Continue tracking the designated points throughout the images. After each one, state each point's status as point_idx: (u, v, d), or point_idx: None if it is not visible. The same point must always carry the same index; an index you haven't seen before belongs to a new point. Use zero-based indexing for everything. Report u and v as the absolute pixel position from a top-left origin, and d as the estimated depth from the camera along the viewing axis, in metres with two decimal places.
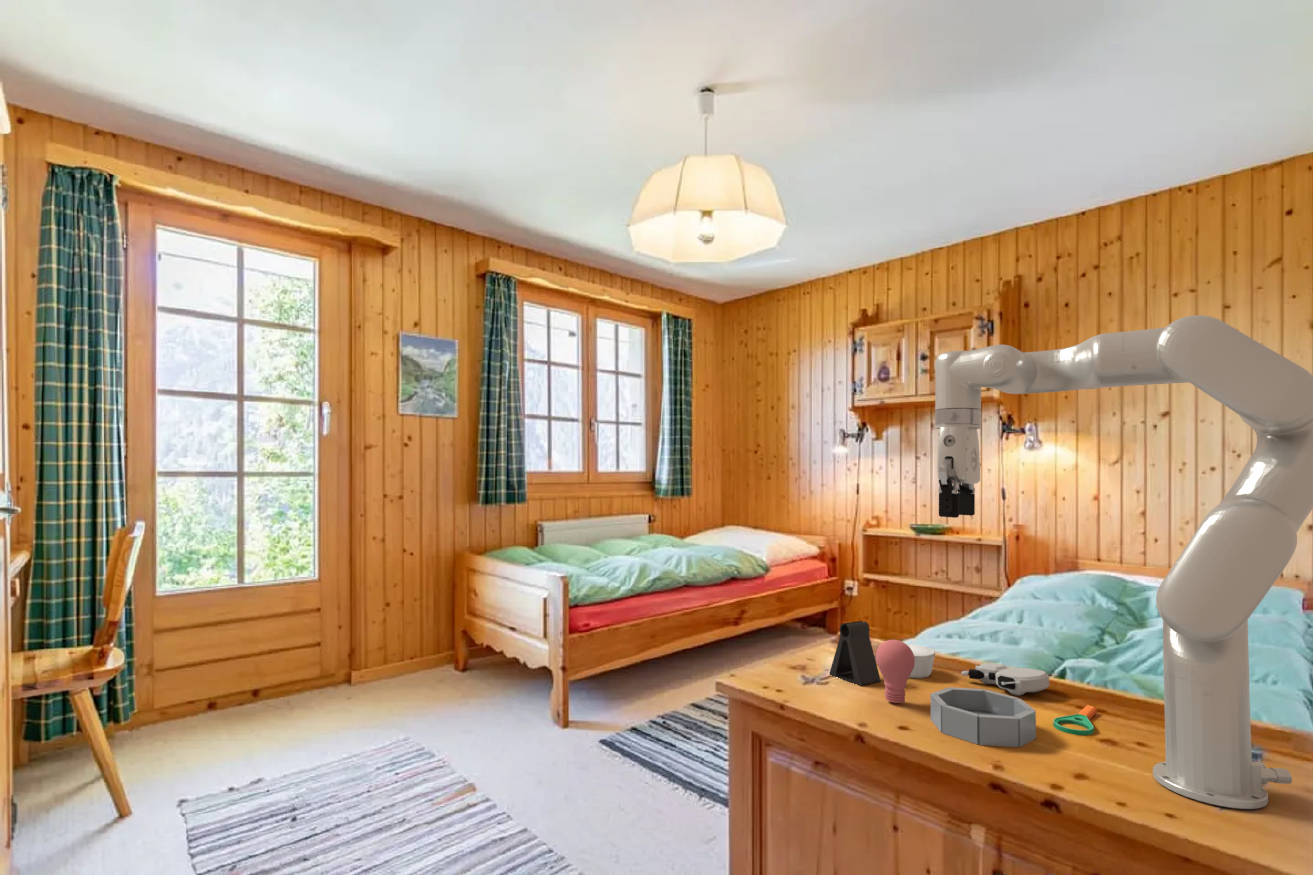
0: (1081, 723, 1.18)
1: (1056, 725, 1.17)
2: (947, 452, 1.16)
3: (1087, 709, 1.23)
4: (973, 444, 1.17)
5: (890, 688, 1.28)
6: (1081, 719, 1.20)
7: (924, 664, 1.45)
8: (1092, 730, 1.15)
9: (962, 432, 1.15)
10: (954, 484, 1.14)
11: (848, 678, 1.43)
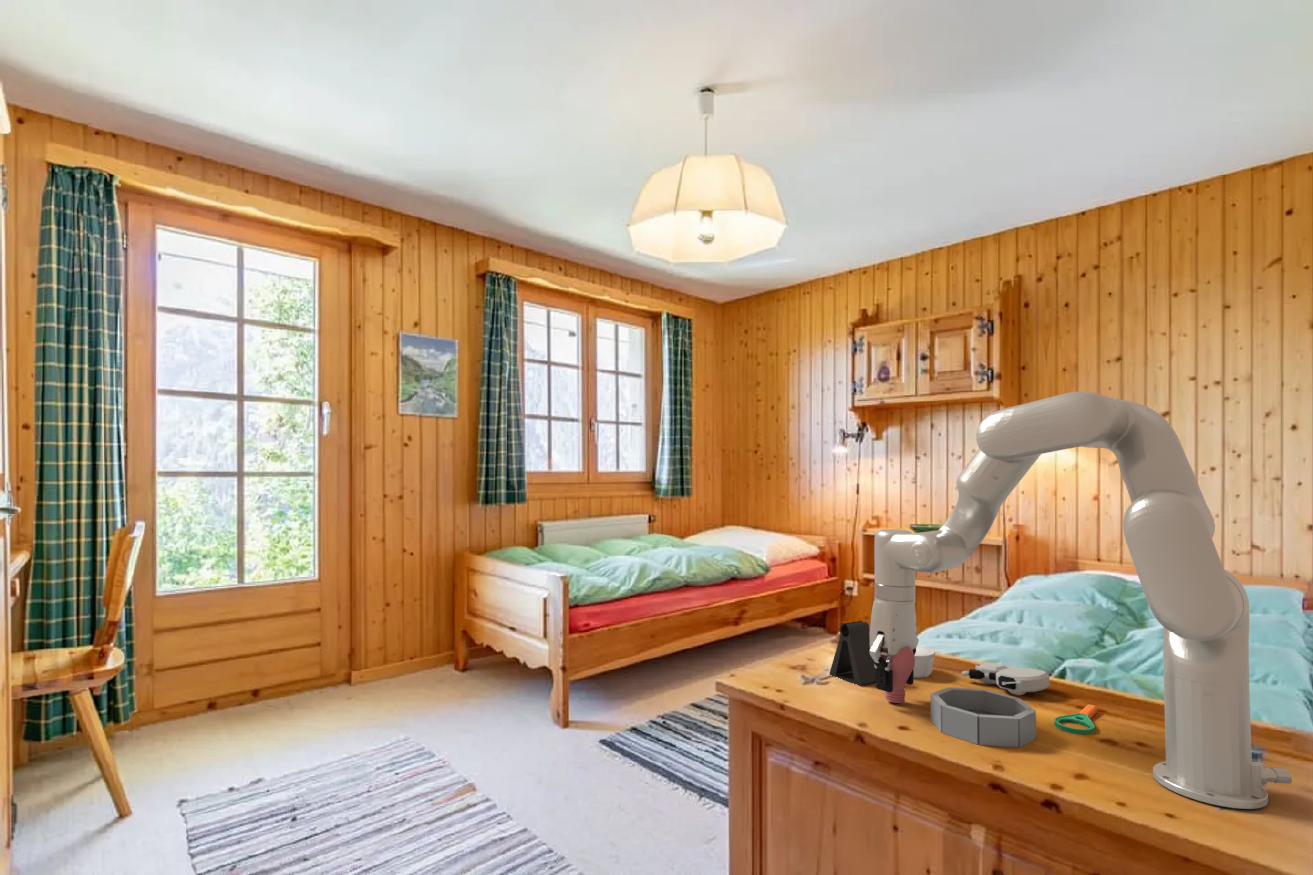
0: (1082, 722, 1.19)
1: (1057, 724, 1.17)
2: None
3: (1088, 708, 1.24)
4: None
5: None
6: (1082, 718, 1.20)
7: (924, 664, 1.45)
8: (1093, 729, 1.15)
9: None
10: None
11: (848, 678, 1.43)
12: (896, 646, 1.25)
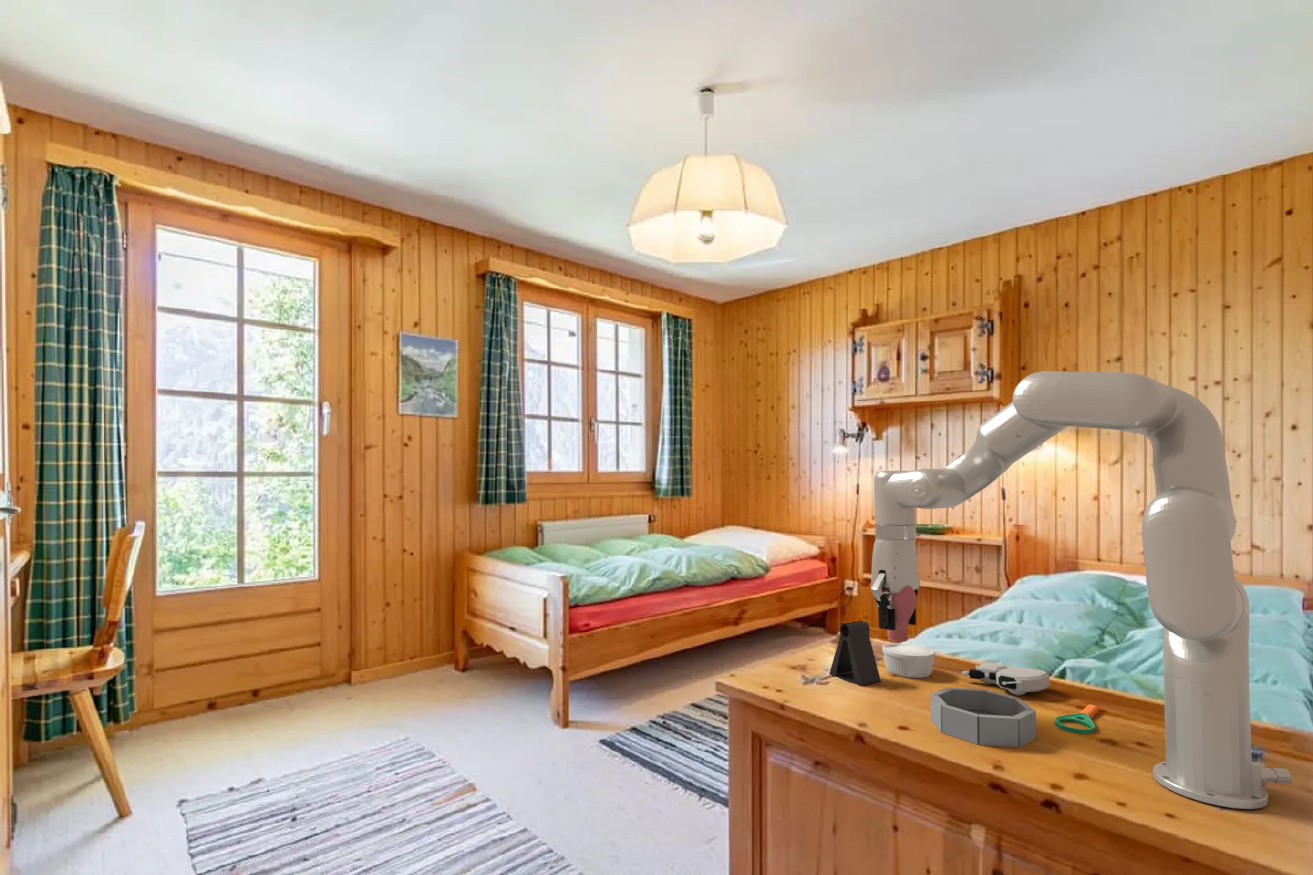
0: (1083, 722, 1.19)
1: (1058, 724, 1.17)
2: None
3: (1089, 708, 1.24)
4: None
5: None
6: (1083, 718, 1.20)
7: (924, 664, 1.45)
8: (1093, 729, 1.15)
9: None
10: None
11: (848, 678, 1.43)
12: (898, 584, 1.26)
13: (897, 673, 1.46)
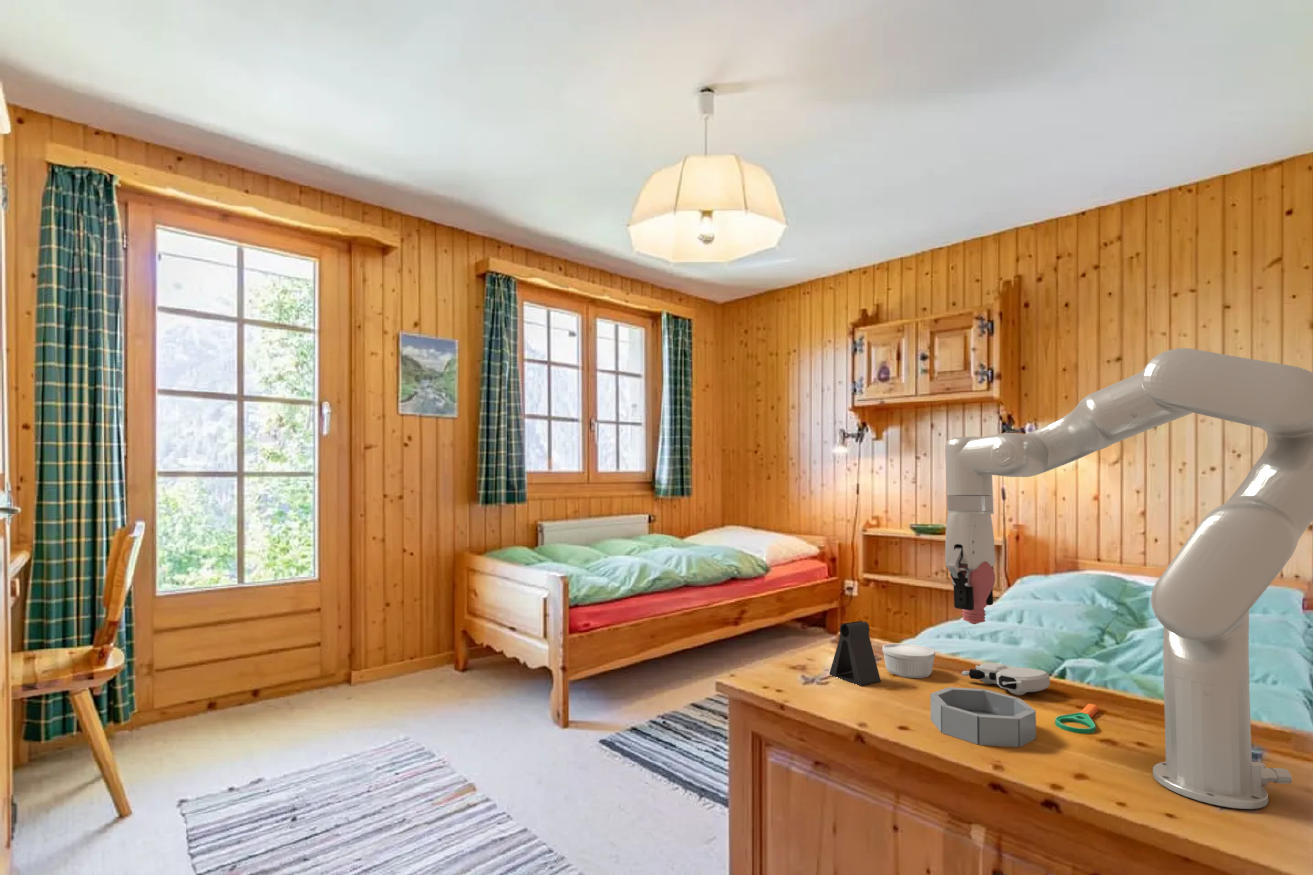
0: (1083, 721, 1.19)
1: (1058, 723, 1.18)
2: None
3: (1089, 708, 1.24)
4: None
5: None
6: (1083, 717, 1.21)
7: (924, 664, 1.45)
8: (1094, 728, 1.16)
9: None
10: None
11: (848, 678, 1.43)
12: (976, 560, 1.15)
13: (897, 673, 1.46)
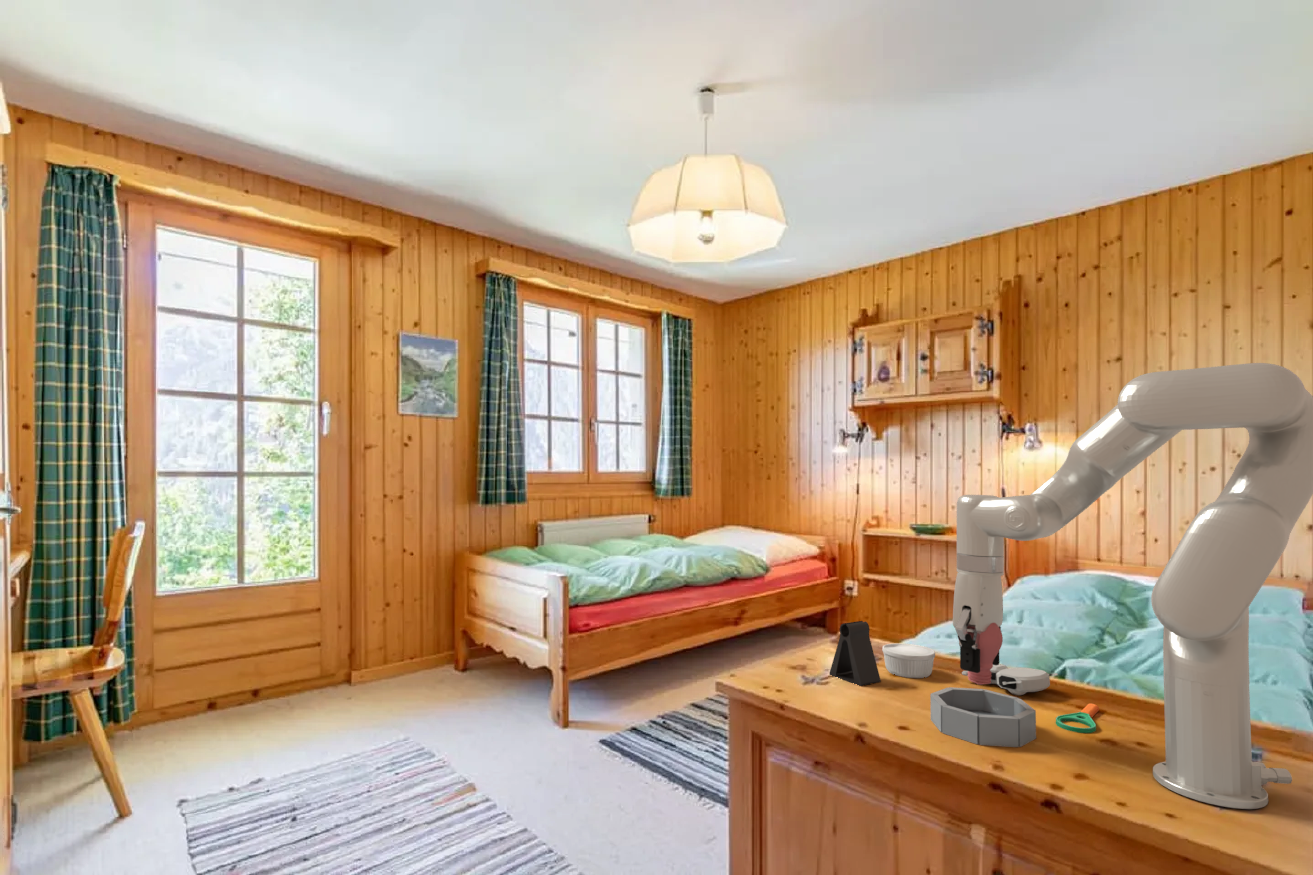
0: (1083, 721, 1.19)
1: (1058, 723, 1.18)
2: None
3: (1089, 707, 1.24)
4: None
5: None
6: (1083, 717, 1.21)
7: (924, 664, 1.45)
8: (1094, 728, 1.16)
9: None
10: None
11: (848, 678, 1.43)
12: (984, 622, 1.14)
13: (897, 673, 1.46)
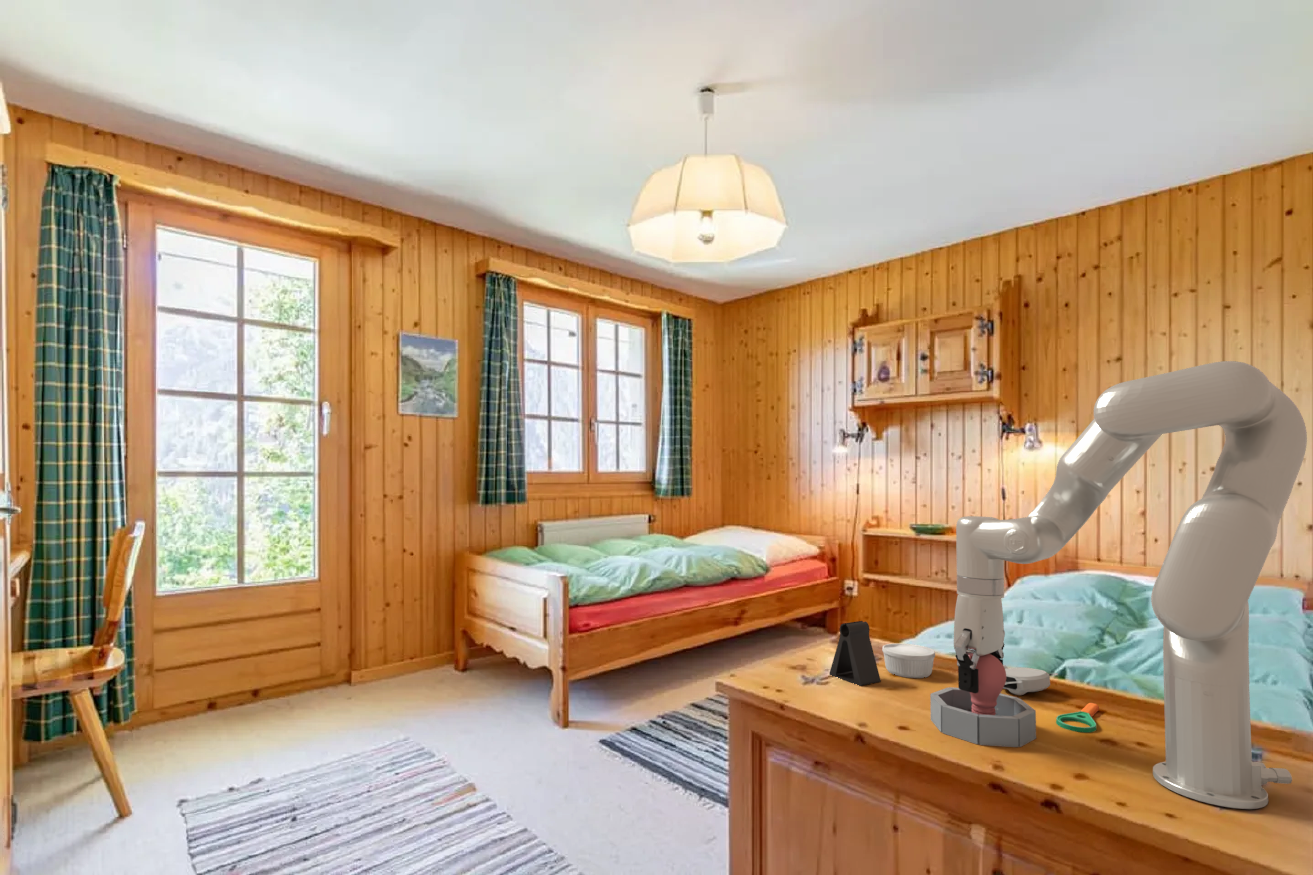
0: (1084, 720, 1.19)
1: (1059, 722, 1.18)
2: None
3: (1090, 707, 1.25)
4: None
5: (979, 706, 1.15)
6: (1084, 716, 1.21)
7: (924, 664, 1.45)
8: (1095, 727, 1.16)
9: None
10: None
11: (848, 678, 1.43)
12: (985, 645, 1.13)
13: (897, 673, 1.46)
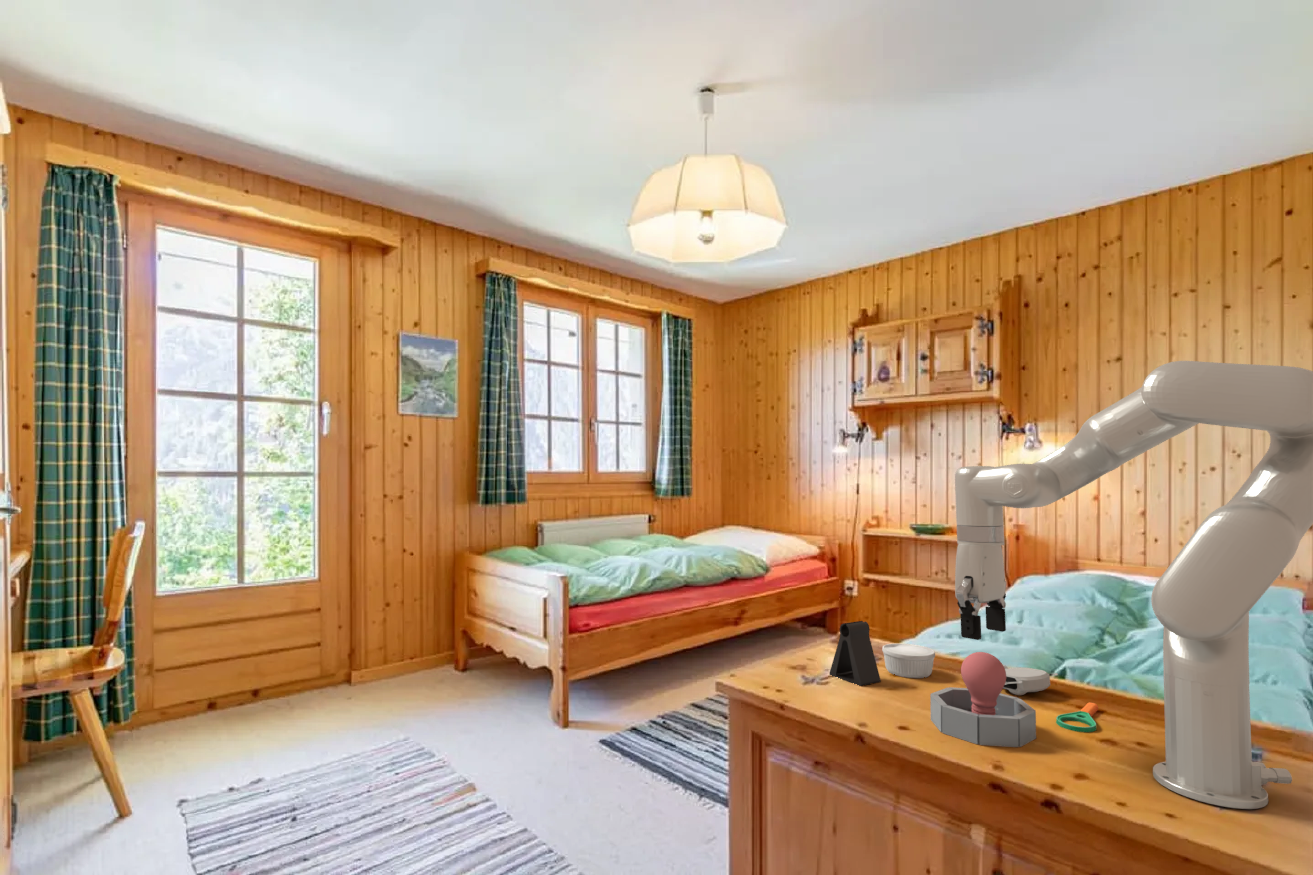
0: (1083, 720, 1.20)
1: (1059, 722, 1.18)
2: None
3: (1089, 706, 1.25)
4: None
5: (979, 706, 1.15)
6: (1083, 716, 1.21)
7: (924, 664, 1.45)
8: (1095, 727, 1.16)
9: None
10: None
11: (848, 678, 1.43)
12: (986, 592, 1.14)
13: (897, 673, 1.46)
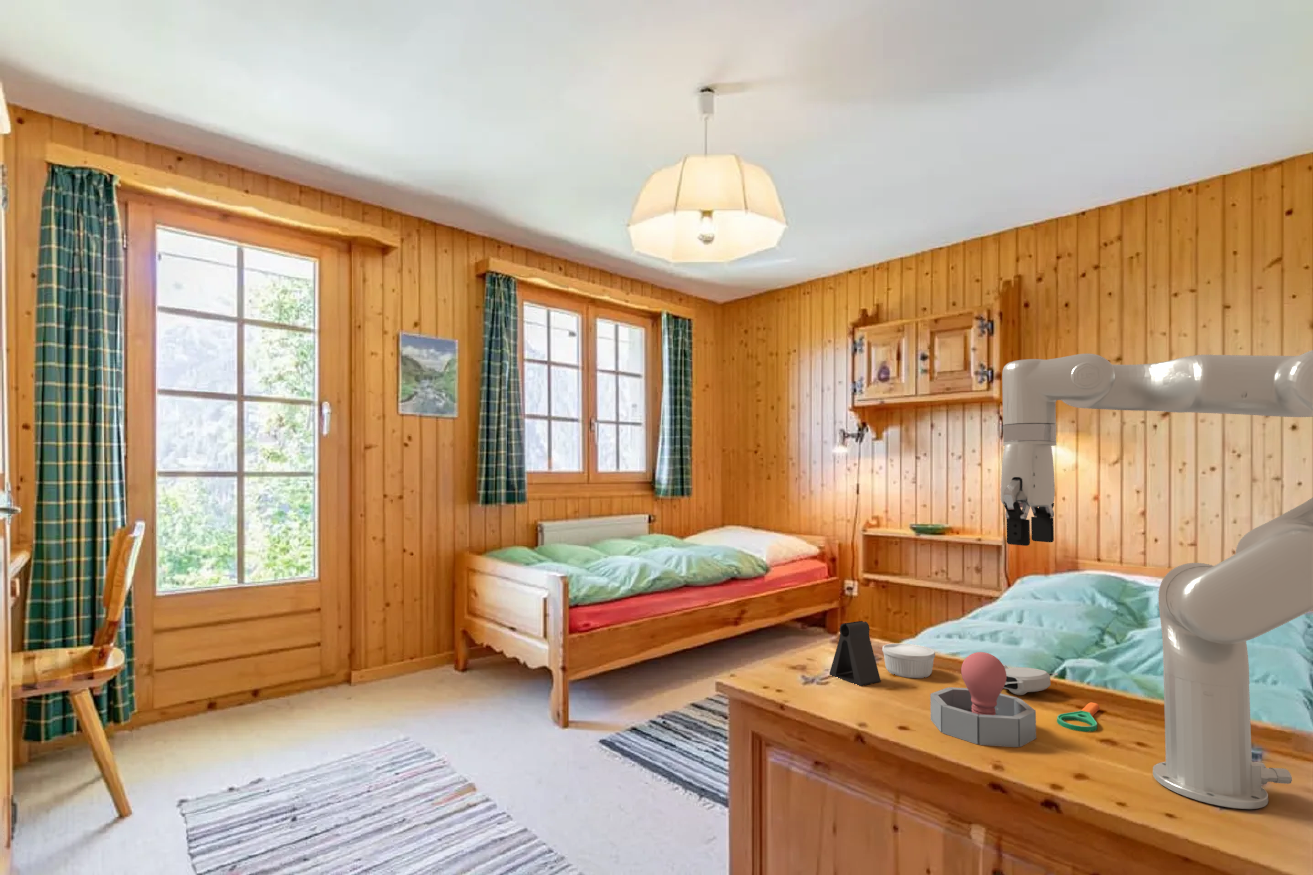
0: (1084, 720, 1.20)
1: (1060, 721, 1.18)
2: None
3: (1090, 706, 1.25)
4: None
5: (979, 706, 1.15)
6: (1084, 716, 1.22)
7: (924, 664, 1.45)
8: (1095, 726, 1.16)
9: None
10: (1036, 506, 1.11)
11: (848, 678, 1.43)
12: (1036, 494, 1.03)
13: (897, 673, 1.46)
